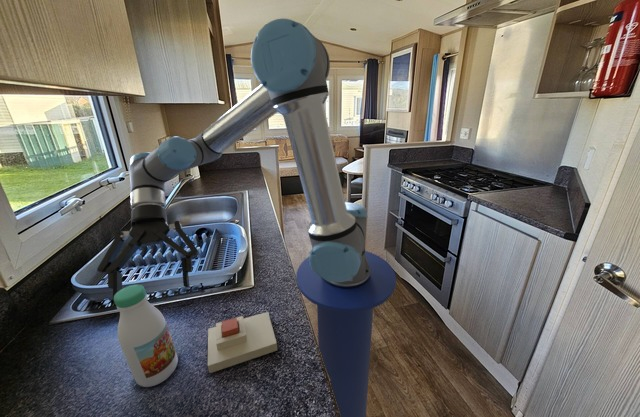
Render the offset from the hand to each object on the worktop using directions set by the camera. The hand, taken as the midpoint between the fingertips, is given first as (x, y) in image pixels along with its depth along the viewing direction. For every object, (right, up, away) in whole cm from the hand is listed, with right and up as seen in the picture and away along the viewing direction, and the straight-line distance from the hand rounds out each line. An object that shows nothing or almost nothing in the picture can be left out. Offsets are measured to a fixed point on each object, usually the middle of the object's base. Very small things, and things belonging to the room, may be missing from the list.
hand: (153, 294), depth 59 cm
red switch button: (+18, -8, 0) cm, 19 cm away
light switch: (+20, -11, +1) cm, 23 cm away
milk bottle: (+4, -14, -5) cm, 16 cm away
